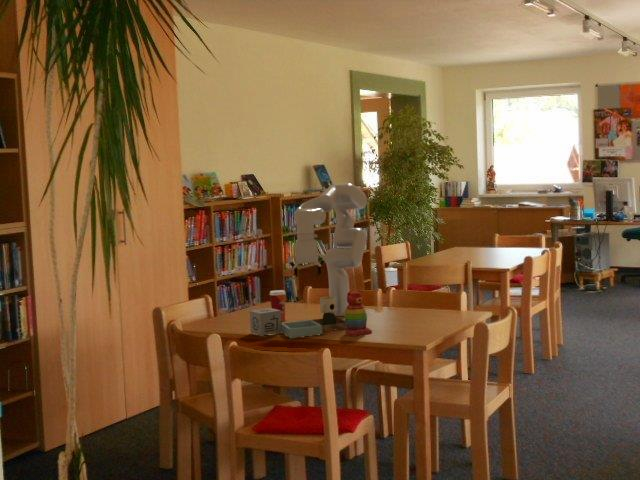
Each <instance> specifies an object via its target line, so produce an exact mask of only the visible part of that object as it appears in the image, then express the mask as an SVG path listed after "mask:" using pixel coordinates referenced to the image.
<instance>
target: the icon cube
mask: <svg viewBox="0 0 640 480" xmlns="http://www.w3.org/2000/svg"><path fill="white" fill-rule="evenodd" d="M249 323H250V325H249V326H250V334H251V333H255V334H258V335H260V336H261V337H262V336H263V335H268V334H274V333H281V332H282V323H283V322H281V310H277V309H273V308H271V307H266V308H261V309H259V308H258V309H253V310H249ZM281 334H282V333H281ZM260 336H259V337H260ZM263 337H264V336H263ZM263 337H262V338H263Z"/></svg>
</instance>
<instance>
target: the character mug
mask: <svg viewBox="0 0 640 480" xmlns="http://www.w3.org/2000/svg"><path fill="white" fill-rule="evenodd" d="M319 308H320V309H319V310H320V313H322V314H323V315H322V319H323V321H322V324H321V325H330V324H337V323H336V319H335V317H336V316H335V315H334V312H336V310H337V309H336V297H329V296H322V297H320V298H319Z"/></svg>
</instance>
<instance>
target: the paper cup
mask: <svg viewBox="0 0 640 480" xmlns="http://www.w3.org/2000/svg"><path fill="white" fill-rule="evenodd" d="M286 294H287V293H286V291H285V290H283V289H280V290H278V289H277V290H276V289H275V290H270V291H269V294H268V295H269V299H270V306H271V307H270V308H273V309H277V310H281V321H283V322H285V321H286Z"/></svg>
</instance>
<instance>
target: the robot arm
mask: <svg viewBox="0 0 640 480" xmlns="http://www.w3.org/2000/svg"><path fill="white" fill-rule="evenodd" d="M367 204H368V197H367V195H366V193H365V192H364V191H363V190H361V189H360V188H359V187H357V185H354V184H352V183H335V184H332V185H329V187H328V188H326V189H325V190H324V191H323V192H322V193H321V194H320V195H319V196H317V197H314V198H311V199H309V200H306V201H305V202H303V203H301V204H300V205H299V206H298V207H297V208H296V210H295V212H294V216H293V218H294V221H295V224H296V237H297V238H296V241H295V247H294V252H295V253H294V254H293V255H291V256H289V257H288V258H287V261H288V263H289V265H290V266H291V267H292V268H293V269H294V270H293V271H294V272H293V273H294V276H295V278H298V276H299V273H298V271H299V270H298V266H299V264H300V265H301V264H302V265H303V264H316V265H317V276H318V277H319V276H320V275H321V274H322V266H323V265H324V263H325V265H326V268H327V269H326V270H327V278H328V292H329V293H328V294H329V296H328V297H336V309H337V310H336V312H334V315H335V317H345V310H346V308H347V306H348V305H349V304H348V302H347V293H348V292H350V283H349V281H350V280H349V275H348V273H347V271H346V270H345V269H357V268H359V267H360V266H361V264H362V261H363V257H364V252H365V248H366V243H367V236H366V234H367V233H366V232H365V230H364V229H363V228H360V227H354V226H355V218H354V217H353V215H352V214H351V212H350V211H349V210H351V211H352V210H353V211H354V210H362V209H365V208H366V206H367ZM333 209H334V212H335V215H336V224H335V228H334V232H333V237H332V243H333V246H335V247H333V248H330V249H328V250H327V251H326V252H325V254H322V253H320V252H319V249H318V242H317V239H316V238H318V234H316V233H315V229H314V228H315V227H314V226H318V225H322V224H324V223H325V222H326V219H327V213H328V212H331V211H332V210H333ZM319 258H322V259H321V260H320V261H319ZM293 259H295V263H294V262H293V261H292V260H293Z"/></svg>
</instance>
